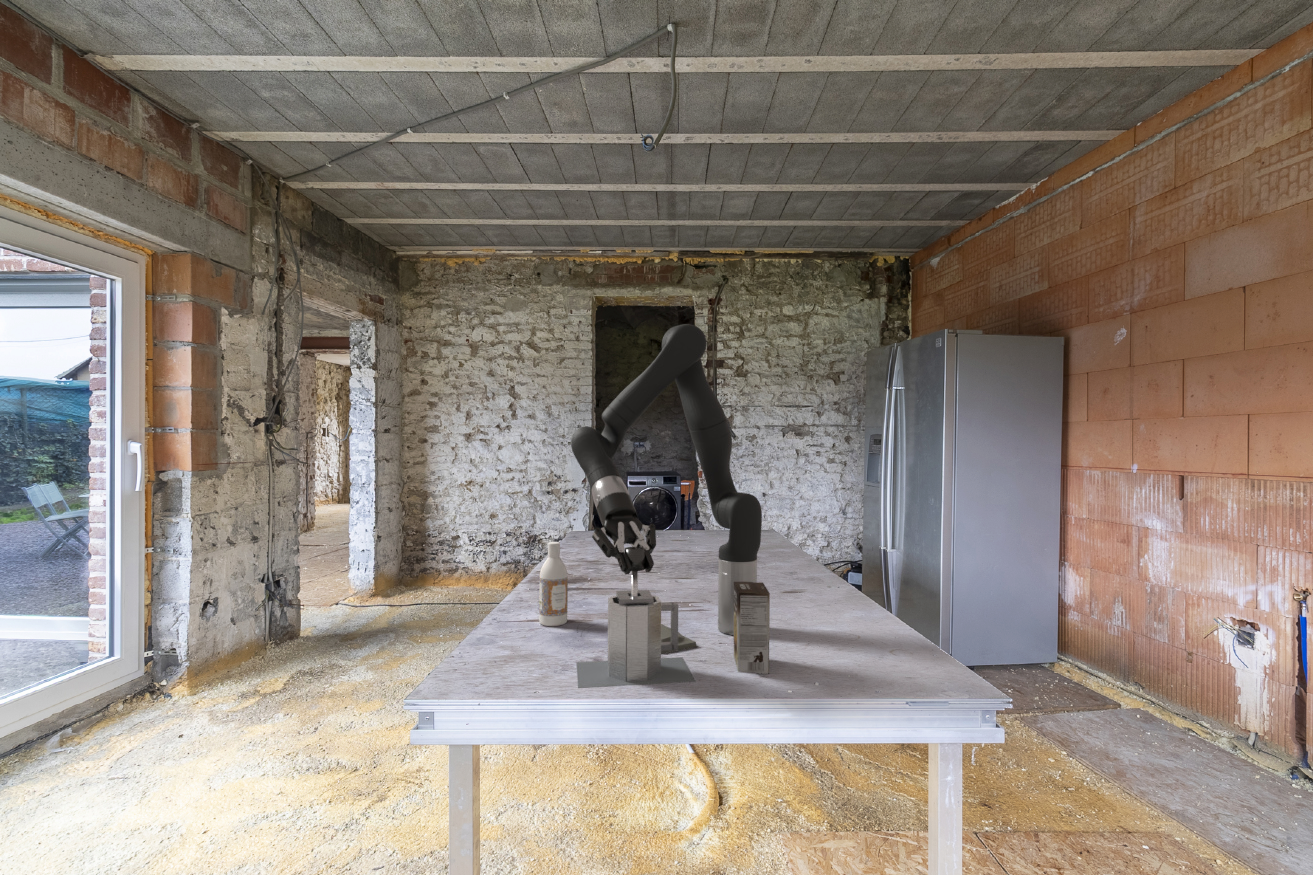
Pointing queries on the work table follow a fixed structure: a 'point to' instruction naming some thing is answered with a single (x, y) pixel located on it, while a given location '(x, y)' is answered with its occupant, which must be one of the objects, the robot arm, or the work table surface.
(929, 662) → the work table surface
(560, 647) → the work table surface
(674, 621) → the carafe
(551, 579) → the bath foam
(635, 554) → the plunger
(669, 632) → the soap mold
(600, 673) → the mat
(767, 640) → the coffee box
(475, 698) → the work table surface
